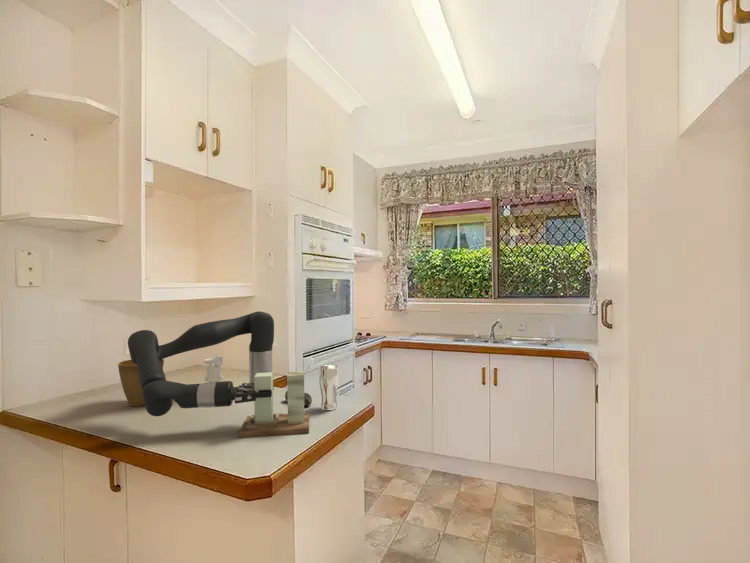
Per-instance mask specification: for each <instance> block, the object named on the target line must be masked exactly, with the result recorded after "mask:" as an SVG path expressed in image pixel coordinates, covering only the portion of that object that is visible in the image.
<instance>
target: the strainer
mask: <svg viewBox="0 0 750 563" xmlns="http://www.w3.org/2000/svg"><path fill="white" fill-rule="evenodd" d="M204 364H206V376H205V377H204V382H206V383H207V382H221V381H222V380H224V375H222V366H223V365H224V357H223V356H219V355H217V356H215V357H211V358H205V359H204ZM213 364H214V366H213Z"/></svg>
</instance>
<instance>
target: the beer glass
mask: <svg viewBox="0 0 750 563" xmlns="http://www.w3.org/2000/svg"><path fill="white" fill-rule="evenodd" d="M318 373H319V375H318V376H319V377H318V380H319V389H320V395H321V404H320V410H321V409H323V410H332V409H335V408H337V407H338V402H337V394H338V388H339V381H340V379H339V378H340V375H339V366H338V365H335V364H325V365H324V364H323V365H321V366H319V371H318ZM337 409H338V408H337ZM323 410H322V411H323Z"/></svg>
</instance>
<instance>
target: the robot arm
mask: <svg viewBox="0 0 750 563" xmlns="http://www.w3.org/2000/svg"><path fill="white" fill-rule="evenodd" d="M249 334H250V336H251V337H250V342H249V345H248V346H249V348H248V361H249V362H248V365H249V366H248V367H249V368H248V369H249V370H248V371H249V374H248V376H249V377H248V380H249V381H248V383H247V382H243V383H241V384H239V385H238V386H234V382H233V381H232V380H226V381H225V380H223V381H222V380H221V381H218V382H207V381H206V382H203V383H191V384H189V383H188V384H185V383H181V382H175V381H171V380H170V381H169V380H167V378H166V374H165V371H164V367H163V368H162V366H161V363H160V360H161V359H164V360H165V359H166V358H169V357H173V356H175V355H178V354H182V353H185V352H186V353H187V352H190V351H194V350H198V349H203V348H208V347H213V346H216V345H219V344H221V343H223V342H226V341H228V340H230V339H233V338H236V337H238V336H242V335H249ZM274 338H275V322H274V318H273V316H272V315H271V314H270V313H268V312H265V311H260V310H259V311H255V312H251V313H249V314H245V315H242V316H238V317H235V318H229V319H219V320H214V321H207V322H204V323H199V324H196V325H192V327H190V328H188V329H187V330H186V331H185V332H183V333H182V334H181V335H180V336H178V337H177V338H175V339H174V340H172V341H170V342H167V343H163V344H160V345H159V340H158V337H157V334H156V333H155V332H153V331H152V330H149V329H142V330H141V329H140V330H137V331H134V332H133V333H131V334H130V336H129V337H128V339H127V347H128V351H129V356H130V360H132V362H133V363H135V364H137V367H138V375H139V380H140V385H141V388H142V390H143V391H142V395H143V399H144V403H145V409H146V412H147V413H148V414H149V415H150V416H153V417H162V416H164V415H166V414H167V413H168V412H169V411H170V410H171V408H172V406H173V401H175V402H176V404H177V405H178V407H179V408H181V409H195V408H205V409H210V408H221V407H222V408H223V407H231V406H232V405H233V402H234V404H236V405H237V404H241V403H242V404H243V403H249V402H250V403H251V402H254V401H256V399H259V398H266V397H271V396H272V390H254V376H255V375H256V373H268V372H273V345H274V343H275V342H274V340H275V339H274ZM274 389H275V388H274V386H273V391H274Z"/></svg>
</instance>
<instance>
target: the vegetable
mask: <svg viewBox="0 0 750 563" xmlns="http://www.w3.org/2000/svg"><path fill="white" fill-rule="evenodd" d="M284 398H285V400H286V401H287V402H288V389H287V390H286V392H285V394H284ZM312 402H313V400H312V396H311V395H310V394H309V393H307V392H304V406H308V407H310V406H311V404H312Z"/></svg>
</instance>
